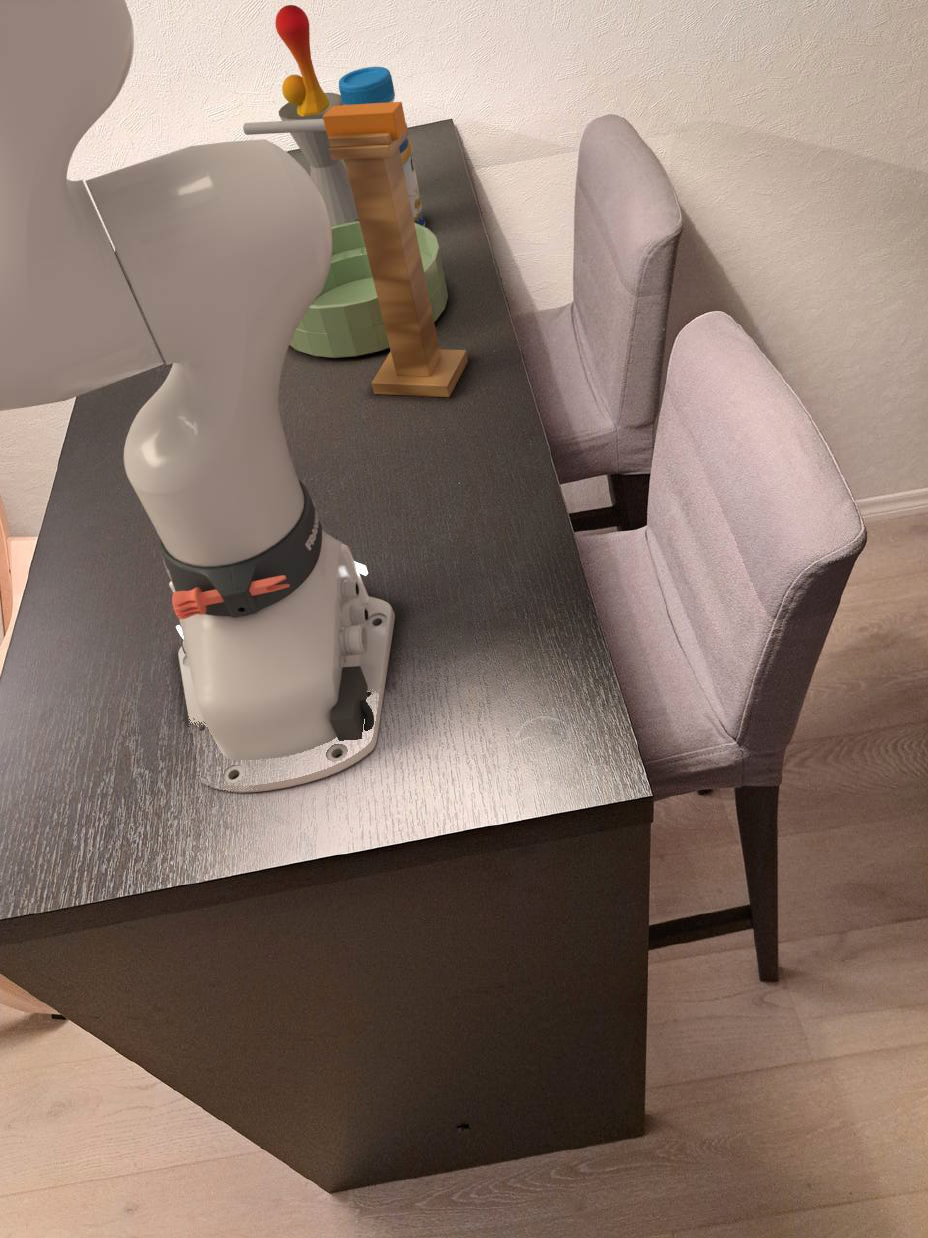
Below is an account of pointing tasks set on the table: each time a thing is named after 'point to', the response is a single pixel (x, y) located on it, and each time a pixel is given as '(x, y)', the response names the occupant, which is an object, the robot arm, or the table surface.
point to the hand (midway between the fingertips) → (54, 79)
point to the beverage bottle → (379, 89)
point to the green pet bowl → (359, 298)
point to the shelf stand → (396, 268)
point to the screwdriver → (343, 121)
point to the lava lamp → (313, 117)
